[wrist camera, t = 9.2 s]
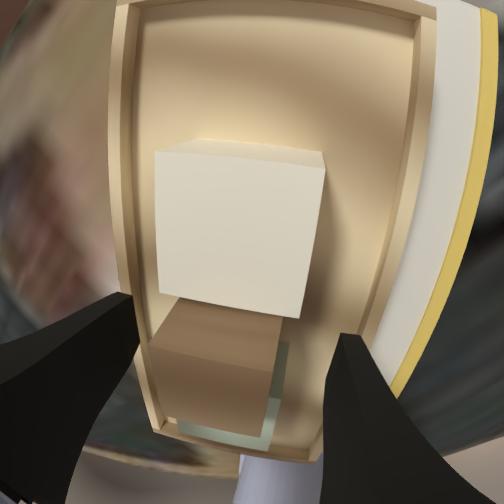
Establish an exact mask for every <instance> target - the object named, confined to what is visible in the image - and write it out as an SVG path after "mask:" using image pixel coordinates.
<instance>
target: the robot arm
mask: <svg viewBox="0 0 504 504" xmlns="http://www.w3.org/2000/svg"><path fill="white" fill-rule="evenodd" d="M139 344H140V337H139V331H138V325H137V319H136V313H135V307H134V300H133V295H129V294H125V293H121V292H116V293H113V294H111V295H109V296H107V297H104V298H102V299H100V300H98V301H97V302H95V303H93V304H91V305H89V306H87V307H85V308H83V309H81V310H79V311H77V312H75V313H73V314H71V315H70V316H68V317H66V318H64V319H62V320H60V321H57V322H55V323H53V324H51V325H49V326H47V327H45V328H43V329H41V330H39V331H36V332H34V333H32V334H29V335H27V336H24V337H21V338H19V339H16V340H13V341H10V342H7V343H4V344H1V345H0V504H18V503H19V501H20V500H23V501H24V502H25V503H27V504H32V502H35V503H37V504H65V500H66V496H67V492H68V488H69V485H70V481H71V478H72V475H73V472H74V469H75V466H76V463H77V461H78V458H79V456H80V453H81V451H82V448H83V446H84V443H85V441H86V439H87V436H88V434H89V432H90V430H91V428H92V426H93V423H94V422H95V420H96V418H97V416H98V415H99V413H100V411H101V410H102V408H103V407H104V405H105V403H106V402H107V400H108V399H109V397H110V396H111V394H112V393H113V391H114V389H115V388H116V386H117V385H118V383H119V382H120V380H121V379H122V377H123V375H124V374H125V372H126V371H127V369H128V368H129V366H130V364H131V362H132V360H133V358H134V356H135V353H136V351H137V349H138V347H139ZM239 474H240V476H239V480H238V484H237V488H236V492H235V496H234V500H233V503H232V504H496V503H495V502H493V501H492V500H490V499H489V498H488V497H486V496H485V495H483V494H482V493H481V492H479V491H478V490H477V489H475V488H474V487H473V486H472V485H471V484H470V483H468V482H467V481H466V480H465V479H464V478H463V477H461V476H460V475H459V474H458V473H457V472H456V471H455V470H454V469H453V468H452V467H451V466H450V465H449V464H448V463H447V462H446V461H445V460H444V459H443V458H442V457H441V456H440V455H439V454H438V453H437V451H436V450H435V449H434V448H433V447H432V446H431V445H430V444H429V442H428V441H427V440H426V439H425V438H424V436H423V435H422V434H421V433H420V431H419V430H418V429H417V427H416V426H415V425H414V424H413V422H412V421H411V419H410V418H409V417H408V415H407V414H406V412H405V411H404V409H403V408H402V406H401V405H400V403H399V402H398V400H397V399H396V397H395V395H394V394H393V392H392V391H391V389H390V387H389V386H388V384H387V382H386V381H385V379H384V377H383V375H382V374H381V372H380V370H379V368H378V367H377V365H376V363H375V361H374V359H373V357H372V356H371V354H370V352H369V350H368V348H367V346H366V344H365V342H364V341H363V339H362V337H361V336H360V335H357V334H348V333H340V336H339V339H338V342H337V345H336V348H335V351H334V354H333V358H332V361H331V364H330V367H329V370H328V372H327V375H326V378H325V388H324V399H323V451H322V453H321V455H320V456H319V458H318V460H317V462H316V464H315V465H313V464H303V463H294V462H286V461H278V460H272V459H265V458H259V457H253V456H248V455H242V454H241V456H240V465H239Z"/></svg>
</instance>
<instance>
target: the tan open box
mask: <svg viewBox="0 0 504 504" xmlns="http://www.w3.org/2000/svg"><path fill="white" fill-rule="evenodd" d="M436 34H437V10H436V7H434V6H431V5H428V4H425V3H422V2H418V1H415V0H117V7H116V14H115V22H114V30H113V39H112V49H111V61H110V76H109V98H108V162H109V185H110V200H111V213H112V225H113V235H114V244H115V252H116V260H117V268H118V275H119V282H120V288H121V293H125V294H129V295H133V300H134V307H135V313H136V319H137V325H138V331H139V337H140V344H139V347H138V349H137V351H136V353H135V356H134V361H135V365H136V369H137V373H138V377H139V381H140V385H141V389H142V393H143V397H144V400H145V404H146V408H147V411H148V415H149V418H150V421H151V425H152V428H153V431H154V432H156V433H159V434H163V435H166V436H169V437H173V438H176V439H179V440H183V441H187V442H190V443H194V444H198V445H202V446H206V447H210V448H214V449H219V450H223V451H228V452H232V453H237V454H242V455H248V456H253V457H259V458H265V459H272V460H278V461H286V462H294V463H303V464H313V465H315V464H316V462H317V460H318V458H319V456H320V455H321V453H322V451H323V399H324V388H325V378H326V375H327V372H328V370H329V367H330V364H331V361H332V358H333V354H334V351H335V348H336V345H337V342H338V339H339V336H340V333H348V334H357V335H360V336H361V337H362V339H363V341H364V342H365V344H366V346H367V348H368V350H370V348H371V345H372V343H373V340H374V338H375V335H376V332H377V330H378V327H379V324H380V322H381V319H382V316H383V313H384V310H385V307H386V305H387V302H388V299H389V296H390V293H391V290H392V286H393V283H394V280H395V277H396V274H397V270H398V267H399V264H400V260H401V257H402V253H403V250H404V246H405V242H406V239H407V235H408V231H409V227H410V223H411V219H412V215H413V211H414V207H415V202H416V198H417V193H418V188H419V183H420V178H421V173H422V168H423V163H424V157H425V151H426V145H427V138H428V132H429V124H430V117H431V108H432V99H433V89H434V77H435V62H436ZM194 139H210V140H223V141H235V142H246V143H256V144H265V145H274V146H282V147H290V148H297V149H304V150H311V151H318V152H322V155H323V160H324V164H325V169H326V170H325V177H324V183H323V190H322V196H321V203H320V209H319V215H318V221H317V227H316V233H315V239H314V244H313V250H312V255H311V261H310V266H309V271H308V277H307V282H306V287H305V292H304V297H303V302H302V307H301V312H300V316H299V319H298V318H291V317H285V316H279V315H273V314H267V313H261V312H255V311H250V310H244V309H239V308H233V307H228V306H222V305H217V304H212V303H207V302H202V301H197V300H192V299H187V298H182V297H177V296H172V295H168V294H163V293H159V281H158V267H157V249H156V227H155V151H158V150H161V149H164V148H167V147H170V146H174V145H177V144H180V143H184V142H187V141H190V140H194ZM279 342H284V343H290V344H289V351H288V358H287V365H286V372H285V379H284V385H283V392H282V398H281V403H280V407H279V411H278V414H277V418H276V422H275V426H274V430H273V434H272V438H271V441H270V445H269V449H268V452H267V451H261V450H256V449H250V448H245V447H240V446H235V445H230V444H225V443H221V442H216V441H212V440H208V439H204V438H200V437H196V436H192V435H188V434H185V433H181V432H179V431H178V426H177V420H176V419H178V420H182V421H186V422H189V423H193V424H197V425H201V426H205V427H209V428H214V429H218V430H223V431H227V432H232V433H237V434H242V435H247V436H253V437H258V438H260V437H261V432H262V427H263V422H264V418H265V413H266V408H267V403H268V398H269V393H270V388H271V382H272V377H273V372H274V367H275V361H276V356H277V350H278V345H279Z"/></svg>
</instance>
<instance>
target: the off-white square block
mask: <svg viewBox="0 0 504 504" xmlns="http://www.w3.org/2000/svg"><path fill="white" fill-rule="evenodd" d="M325 170H326V169H325V164H324V160H323V155H322V152H318V151H311V150H304V149H297V148H290V147H282V146H274V145H265V144H256V143H246V142H235V141H223V140H210V139H194V140H190V141H187V142H184V143H180V144H177V145H174V146H170V147H167V148H164V149H161V150H158V151H155V227H156V249H157V267H158V281H159V293H163V294H168V295H172V296H177V297H182V298H187V299H192V300H197V301H202V302H207V303H212V304H217V305H222V306H228V307H233V308H239V309H244V310H250V311H255V312H261V313H267V314H273V315H279V316H285V317H291V318H298V319H299V316H300V312H301V307H302V302H303V297H304V292H305V287H306V282H307V277H308V271H309V266H310V261H311V255H312V250H313V244H314V239H315V233H316V227H317V221H318V215H319V209H320V203H321V196H322V190H323V183H324V177H325Z"/></svg>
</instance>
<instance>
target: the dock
mask: <svg viewBox="0 0 504 504" xmlns="http://www.w3.org/2000/svg"><path fill="white" fill-rule="evenodd" d="M415 1H418V2H422V3H425V4H428V5H431V6H434V7H436V10H437V34H436V62H435V77H434V89H433V99H432V108H431V117H430V124H429V132H428V138H427V145H426V151H425V157H424V163H423V168H422V173H421V178H420V183H419V188H418V193H417V198H416V202H415V207H414V211H413V215H412V219H411V223H410V227H409V231H408V235H407V239H406V242H405V246H404V250H403V253H402V257H401V260H400V264H399V267H398V270H397V274H396V277H395V280H394V283H393V286H392V290H391V293H390V296H389V299H388V302H387V305H386V307H385V310H384V313H383V316H382V319H381V322H380V324H379V327H378V330H377V332H376V335H375V338H374V340H373V343H372V345H371V348H370V350H369V352H370V354H371V356H372V357H373V359H374V361H375V363H376V365H377V367H378V368H379V370H380V372H381V374H382V375H383V377H384V379H385V381H386V382H387V384H388V386H389V387H390V389H391V391H392V392H393V394H394V395H395V397H396V399H397V398H398V397H399V395H400V393H401V391H402V390H403V388H404V386H405V384H406V383H407V381H408V379H409V377H410V375H411V374H412V372H413V370H414V368H415V366H416V364H417V362H418V360H419V358H420V356H421V355H422V353H423V351H424V349H425V346H426V344H427V342H428V340H429V338H430V336H431V334H432V332H433V330H434V328H435V325H436V323H437V321H438V319H439V316H440V314H441V312H442V309H443V307H444V305H445V302H446V300H447V297H448V295H449V292H450V290H451V287H452V285H453V282H454V279H455V277H456V274H457V271H458V268H459V266H460V263H461V260H462V257H463V254H464V251H465V248H466V245H467V242H468V238H469V235H470V232H471V228H472V225H473V222H474V218H475V214H476V211H477V207H478V203H479V199H480V195H481V190H482V186H483V182H484V177H485V172H486V167H487V162H488V156H489V151H490V145H491V138H492V131H493V124H494V115H495V106H496V94H497V78H498V23H497V15H496V14H494V13H492V12H490V11H488V10H486V9H484V8H477V7H475V6H473V5H470V4H468V3H466V2H463V1H461V0H415Z"/></svg>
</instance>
